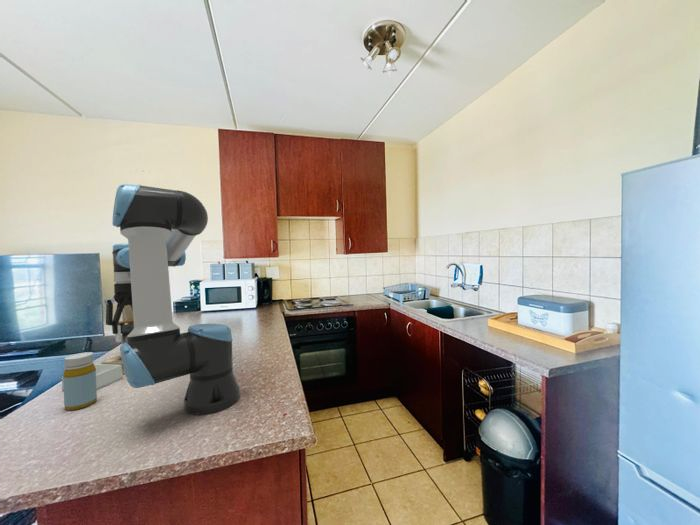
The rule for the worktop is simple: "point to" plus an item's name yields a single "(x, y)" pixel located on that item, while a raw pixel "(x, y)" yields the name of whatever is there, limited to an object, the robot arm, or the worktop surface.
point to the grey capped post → (126, 329)
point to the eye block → (115, 362)
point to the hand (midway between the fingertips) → (128, 339)
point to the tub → (105, 375)
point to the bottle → (79, 381)
